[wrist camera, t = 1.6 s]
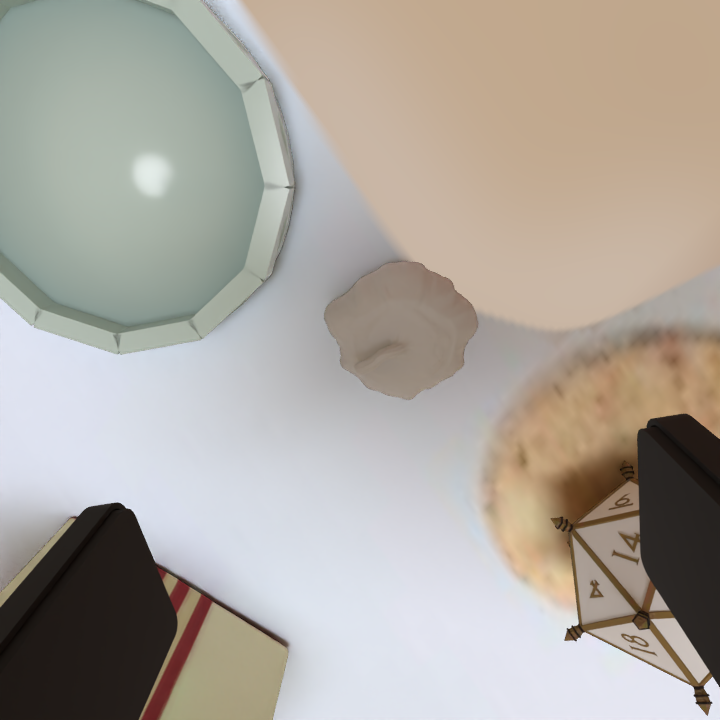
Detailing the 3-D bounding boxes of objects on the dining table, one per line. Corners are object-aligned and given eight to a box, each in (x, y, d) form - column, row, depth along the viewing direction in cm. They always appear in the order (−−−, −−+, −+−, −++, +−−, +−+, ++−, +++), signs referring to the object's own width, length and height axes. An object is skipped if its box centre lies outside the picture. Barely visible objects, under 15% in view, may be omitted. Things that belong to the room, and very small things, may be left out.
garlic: (333, 371, 24) (319, 425, 19) (329, 253, 22) (311, 279, 17) (465, 372, 24) (484, 426, 19) (472, 252, 22) (495, 278, 17)
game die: (558, 471, 29) (483, 527, 21) (728, 422, 24) (712, 469, 17) (629, 634, 28) (577, 760, 20) (828, 615, 23) (865, 773, 15)
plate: (239, -78, 18) (221, -105, 16) (328, 306, 23) (322, 318, 21) (-109, 22, 20) (-161, 7, 18) (39, 359, 25) (10, 376, 23)
